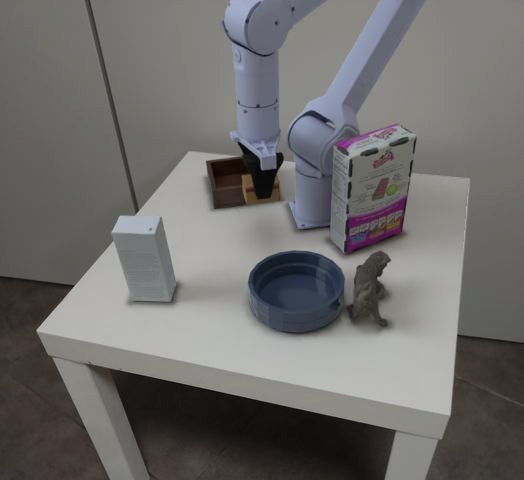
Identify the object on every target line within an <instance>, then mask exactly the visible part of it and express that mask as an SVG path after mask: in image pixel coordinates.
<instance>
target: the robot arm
mask: <svg viewBox="0 0 524 480" xmlns="http://www.w3.org/2000/svg"><path fill="white" fill-rule="evenodd" d="M327 1H328V0H229V1H228V4H227V6H226V9H225V12H224V18H223V19H221V20H220V24H221V28H222V31H223V33H224V35H225V37H226V38H227V39H228V40H229V42H230V45H231V54H232V59H233V74H234V88H235V91H234V92H235V103H236V105H235V106H236V117H237V119H236V120H237V129H235V130H231V131H230V132H229V138H230V141H231V143H237V145H238V147H239V148H240V150H241V152H242V155H241V156H242V158H243V161H244V163H245V165H246V167H247V169H248V172H249V175H250V174H251V177H252V182H253V187H254V191H255V194H256V197H257V199H258V200H259V199H267V198H271V195H272V191H273V187H274V182H275V178H276V175H277V176H278V172H279V171H280V168H281V167H282V165H283V164H284V160H285V156H284V153H283V152H281V151H279V152H277V150H278V147H279V143H280V140H281V136H282V129H281V127H280V84H279V83H280V82H279V81H280V78H279V77H280V75H279V72H280V71H279V68H280V67H279V65H280V64H279V50H280V49H281V48H283V45H284V44H285V41H286V40H287V37H288V34H289V32H290V31H291V30H292V29H293V28H294V26H295V25H296V24H297V23H299V22H300V21H302V20H303V19H304V18H306V17H307V16H308V15H310V14H311V13H313V12H314V11H315V10H317V9H318V8H319V7H320V6H322V5H323V4H325V3H326V2H327ZM426 1H427V0H379V1H378V3H377V5H376V6H375V8H374V10H373V12H372V13H371V15H370V17H369V18H368V20H367V22H366V24H365V25H364V27H363V29H362V30H361V32H360V33H359V36H358V37H357V39H356V40H355V42H354V44H353V46H352V48H351V50H350V51H349V53H348V54H347V56H346V58H345V60H344V61H343V63H342V64H341V67H340V68H339V70H338V72H337V73H336V75H335V77H334V79H333V80H332V82H331V83H330V85H329V87H328V88H327V91H326V93H325V94H324V95H322V96H318V97H317V98H314V99H312V100H310V101H308V102H307V103H306V105H305V107H304V108H303V110H302V111H301V112H300V113H299V114H298V115H297V116H296V117H295V118H294V119H293V120H292V121H291V122H290V123H289V125H288V127H287V130H286V133H285V143H286V146H287V148H288V149H289V151H290V152H292V153H293V161H294V166H295V167H294V181H295V183H294V200H290V201H289V202H288V205H289V208H290V211H291V213H292V216H293V219H294V222H295V224H296V227H297V229H298V230H307V229H315V228H321V227H329V226H330V220H331V195H332V168H333V144H334V143H337V142H341V141H344V140H347V139H350V138H353V137H356V136H359V135H361V130H360V127H359V123H358V120H357V114H358V112H359V111H360V110H361V108H362V106H363V104H364V102H365V101H366V100H367V98H368V96H369V95H370V94H371V91H372V90H373V88H374V86H375V85H376V83H377V81H378V80H379V78H380V77H381V75H382V73H383V72H384V70H385V68H386V67H387V65H388V63H389V62H390V60H391V58H392V57H393V55H394V54H395V52H396V50H397V49H398V47H399V45H400V44H401V42H402V41H403V39H404V38H405V36H406V34H407V33H408V30H409V29H410V27H411V26H412V24H413V22H414V21H415V20H416V17H417V16H418V14H419V13H420V10H421V9H423V6H424V4H425V3H426ZM328 123H331V124H332V125H334V127H333V126H332V125H330V124H328Z"/></svg>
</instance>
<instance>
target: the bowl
mask: <svg viewBox="0 0 524 480" xmlns="http://www.w3.org/2000/svg"><path fill="white" fill-rule="evenodd" d="M345 283H346V277H345V275H344V272H343V270H342V268H341V267H340V266H339V265H338V264H337V263H336V262H335V261H334V260H333V259H331V258H329V257H327V256H325V255H323V254H321V253H318V252H314V251H310V250H300V249H299V250H296V249H294V250H285V251H280V252H277V253H274V254H271V255H267V256H266V257H265V258H263V259H261V260H260V261H259V262H257V263H256V264H255V265H254V267H253V268H252V269H251V271H250V272H249V277H248V280H247V291H248V301H249V305H250V309H251V311H252V313H253V314H254V316H255V317H256V318H257V319H258V320H259V321H260V322H262V323H263V324H265V325H266V326H268V327H270V328H273V329H274V330H278V331H281V332H289V333H290V332H291V333H303V332H310V331H315V330H317V329H320V328H322V327H324V326H327V325H328V324H330V323H331V322H332V321H334V319H336V318H337V317H338V315H339V314H340V312H341V311H342V309H343V307H344V297H345V285H346V284H345Z"/></svg>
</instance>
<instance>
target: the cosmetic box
mask: <svg viewBox="0 0 524 480" xmlns="http://www.w3.org/2000/svg"><path fill="white" fill-rule="evenodd" d="M110 234H111V237H112V240H113V243H114V247H115V249H116V253H117V256H118V260H119V263H120V266H121V269H122V272H123V275H124V279H125V282H126V286H127V289H128V292H129V295H130V299H131V301H133V302H165V303H166V302H168V303H169V302H172V299H173V296H174V293H175V290H176V288H177V287H176V286H177V278H176V274H175V270H174V265H173V261H172V256H171V251H170V248H169V244H168V239H167V236H166V235H167V234H166V230H165V225H164V221H163V216H162V215H119V216H118V219H117V221H116V222H115V224H114V227H113V229H112V230H111V232H110Z"/></svg>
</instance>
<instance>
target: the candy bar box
mask: <svg viewBox="0 0 524 480" xmlns="http://www.w3.org/2000/svg"><path fill="white" fill-rule="evenodd" d="M417 138H418V135H417V134H415V133H414V132H412V131H410V130H409V129H407V128H406V127H403V125H401V124H400V123H394V124H390V125H388V126H385V127H381V128H379V129H376V130H372V131H369V132H366V133H362V134H360V135H359V136H356V137H353V138H350V139H347V140H344V141H341V142H337V143H334V144H333V168H332V195H331V220H330V225H329V226H330V227H329V240H330V242H331V243H332V244H333V245H335V246H336V247H337V248H338V249H339V250H340V251H341V252H342V254H344V255H348V254H351V253H354V252H357V251H359V250H362V249H364V248H366V247H369V246H372V245H374V244H376V243H381V242H382V241H384V240H387V239H390V238H392V237H395V236H397V235H400V234H403V230H404V225H405V216H406V210H407V204H408V197H409V192H410V191H409V190H410V183H411V177H412V172H413V166H414V158H415V151H416V146H417V140H418V139H417Z"/></svg>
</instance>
